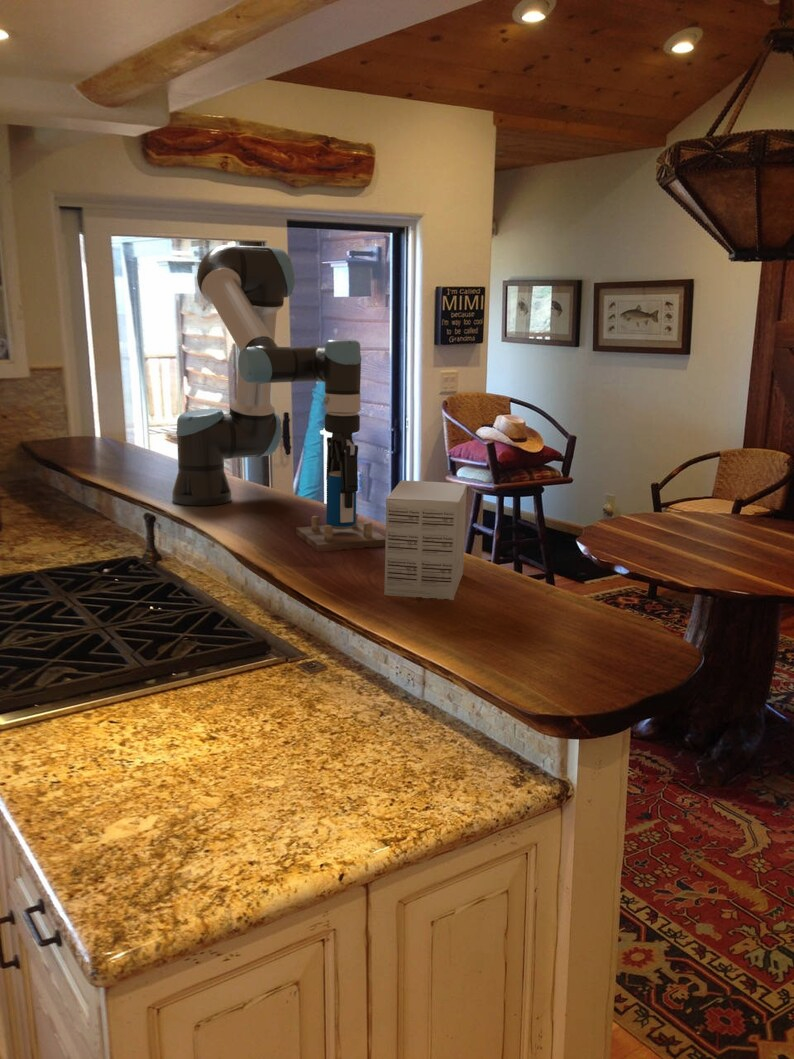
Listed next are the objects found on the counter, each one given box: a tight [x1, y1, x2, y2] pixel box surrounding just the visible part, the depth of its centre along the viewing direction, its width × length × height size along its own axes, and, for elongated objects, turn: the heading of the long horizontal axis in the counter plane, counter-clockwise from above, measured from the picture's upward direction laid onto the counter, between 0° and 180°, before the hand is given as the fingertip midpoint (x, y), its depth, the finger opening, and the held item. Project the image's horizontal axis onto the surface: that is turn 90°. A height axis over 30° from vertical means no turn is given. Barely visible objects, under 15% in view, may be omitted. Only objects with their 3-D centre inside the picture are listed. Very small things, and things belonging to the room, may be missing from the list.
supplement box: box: [383, 479, 468, 601], centre depth 168 cm, size 17×13×18 cm
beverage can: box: [325, 471, 357, 530], centre depth 199 cm, size 6×6×12 cm
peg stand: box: [295, 513, 386, 553], centre depth 201 cm, size 16×16×4 cm
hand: (341, 518), depth 200 cm, fingers closed on beverage can, 6 cm apart
